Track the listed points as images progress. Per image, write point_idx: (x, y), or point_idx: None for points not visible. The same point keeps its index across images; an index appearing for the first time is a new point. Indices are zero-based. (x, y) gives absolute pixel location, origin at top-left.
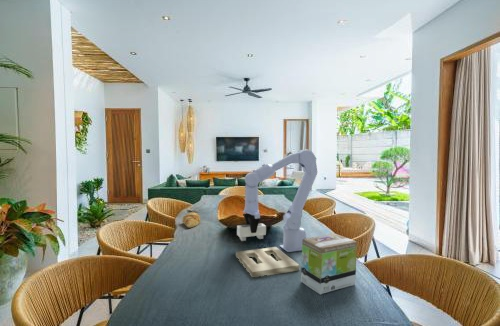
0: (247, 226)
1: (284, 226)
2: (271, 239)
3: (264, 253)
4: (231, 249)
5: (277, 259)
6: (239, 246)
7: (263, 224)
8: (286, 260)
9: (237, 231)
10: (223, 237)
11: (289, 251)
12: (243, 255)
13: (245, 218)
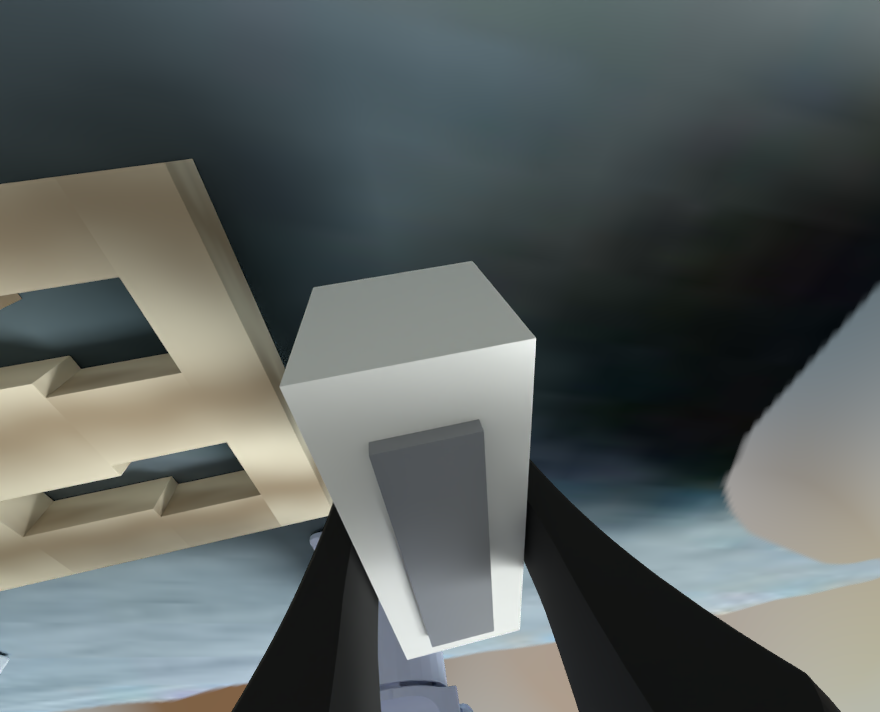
0: (392, 521)
1: (414, 702)
2: (560, 478)
3: (161, 444)
4: (439, 144)
5: (141, 489)
6: (503, 251)
7: (469, 640)
8: (24, 553)
9: (461, 289)
10: (834, 112)
11: (312, 544)
12: (31, 246)
13: (617, 637)
